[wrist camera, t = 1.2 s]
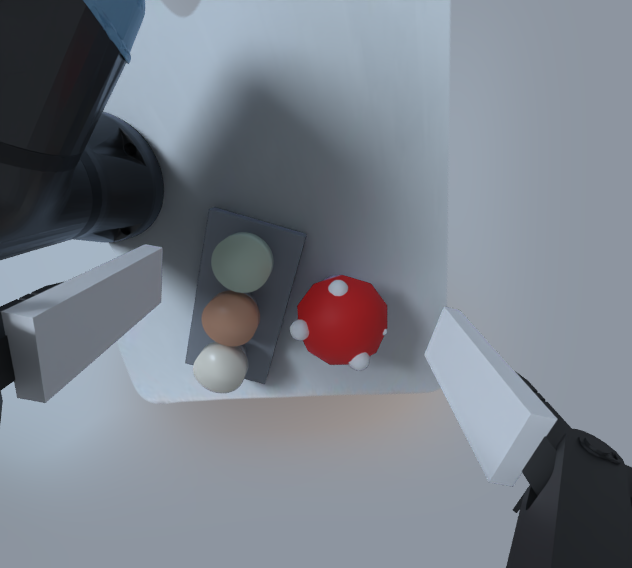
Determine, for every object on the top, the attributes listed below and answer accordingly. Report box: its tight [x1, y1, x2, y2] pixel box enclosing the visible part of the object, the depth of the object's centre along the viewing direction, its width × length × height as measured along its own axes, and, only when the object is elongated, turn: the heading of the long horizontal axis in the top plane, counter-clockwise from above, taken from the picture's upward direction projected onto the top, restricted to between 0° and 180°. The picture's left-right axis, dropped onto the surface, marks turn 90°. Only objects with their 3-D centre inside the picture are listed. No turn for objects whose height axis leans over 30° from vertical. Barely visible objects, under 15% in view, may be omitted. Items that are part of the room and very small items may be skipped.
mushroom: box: [290, 275, 387, 370], centre depth 37 cm, size 11×11×12 cm
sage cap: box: [211, 232, 274, 293], centre depth 36 cm, size 7×7×2 cm
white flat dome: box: [193, 342, 248, 393], centre depth 41 cm, size 7×7×2 cm
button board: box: [185, 207, 306, 384], centre depth 42 cm, size 12×23×3 cm, turn 164°
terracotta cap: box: [202, 290, 260, 347], centre depth 38 cm, size 7×7×2 cm
